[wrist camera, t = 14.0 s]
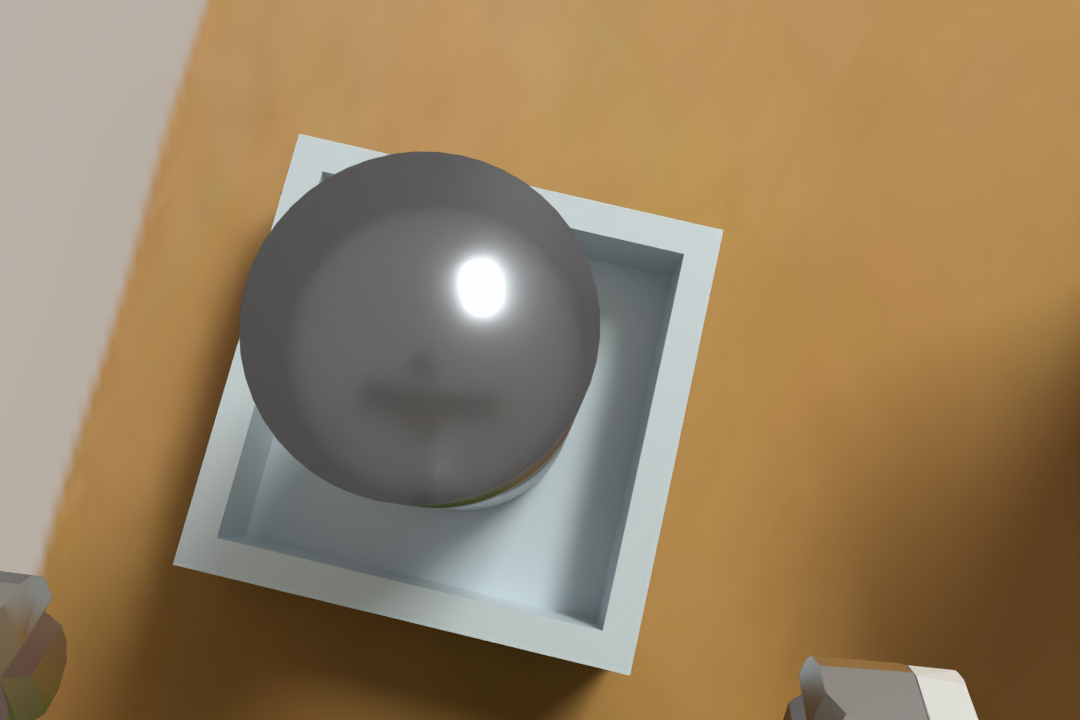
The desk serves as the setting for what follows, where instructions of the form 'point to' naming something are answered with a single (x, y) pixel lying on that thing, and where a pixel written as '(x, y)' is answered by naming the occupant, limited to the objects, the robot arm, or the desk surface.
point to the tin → (421, 331)
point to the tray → (516, 526)
